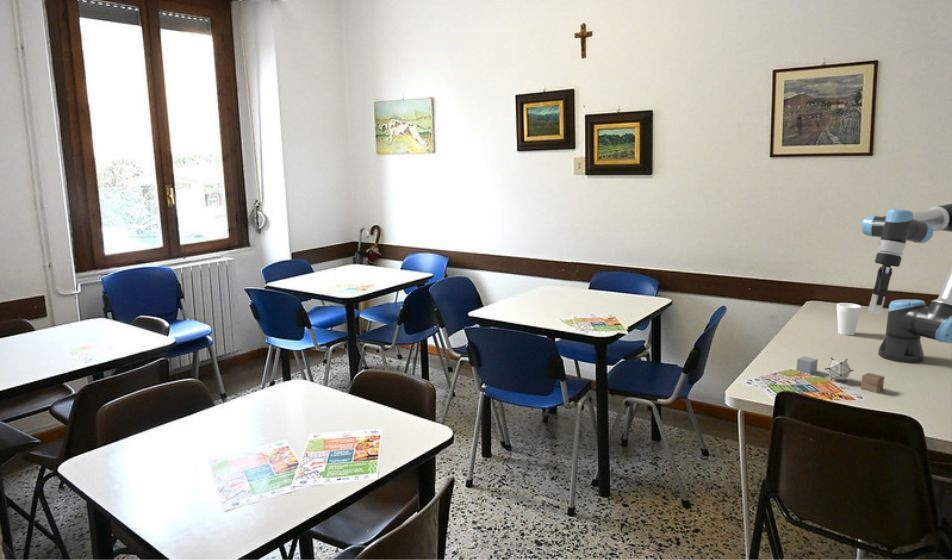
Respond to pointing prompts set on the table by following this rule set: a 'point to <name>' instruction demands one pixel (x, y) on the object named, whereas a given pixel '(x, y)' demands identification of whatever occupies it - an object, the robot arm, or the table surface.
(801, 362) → the grey block
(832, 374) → the white icosahedron
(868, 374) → the walnut block
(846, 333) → the foam cup
